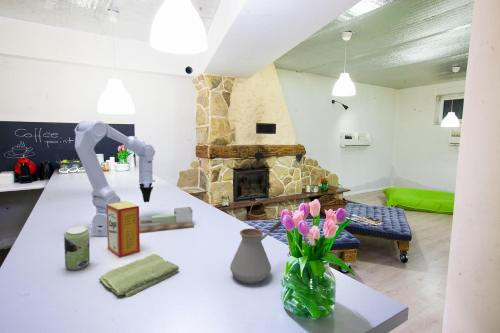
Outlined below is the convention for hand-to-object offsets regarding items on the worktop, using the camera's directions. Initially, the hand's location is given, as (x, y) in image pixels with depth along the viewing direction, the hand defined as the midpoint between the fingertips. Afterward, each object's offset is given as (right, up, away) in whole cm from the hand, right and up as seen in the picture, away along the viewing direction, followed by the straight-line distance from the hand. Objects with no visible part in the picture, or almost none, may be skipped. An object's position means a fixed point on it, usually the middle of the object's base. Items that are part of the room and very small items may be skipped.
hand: (146, 200), depth 123 cm
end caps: (+11, -9, -7) cm, 16 cm away
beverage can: (-2, -14, -45) cm, 47 cm away
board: (+11, -10, -7) cm, 17 cm away
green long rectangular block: (+12, -9, -6) cm, 16 cm away
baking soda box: (+5, -13, -33) cm, 36 cm away
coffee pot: (+52, -15, -45) cm, 70 cm away
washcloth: (+18, -16, -49) cm, 55 cm away
